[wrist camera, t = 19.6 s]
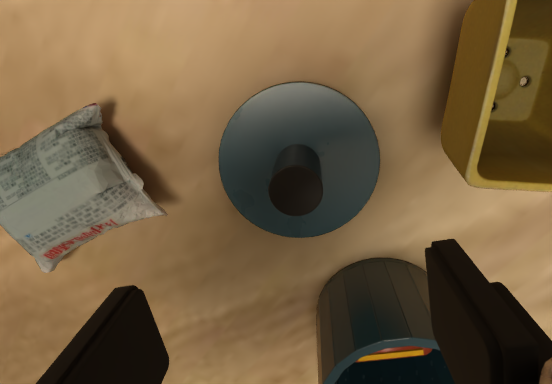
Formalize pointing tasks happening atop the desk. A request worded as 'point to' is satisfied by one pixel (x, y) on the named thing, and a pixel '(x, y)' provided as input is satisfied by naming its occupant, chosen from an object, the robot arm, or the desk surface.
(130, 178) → the packaged food
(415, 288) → the pot
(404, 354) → the hot dog
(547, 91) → the flower pot
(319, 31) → the desk surface
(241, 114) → the pot lid
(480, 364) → the robot arm
